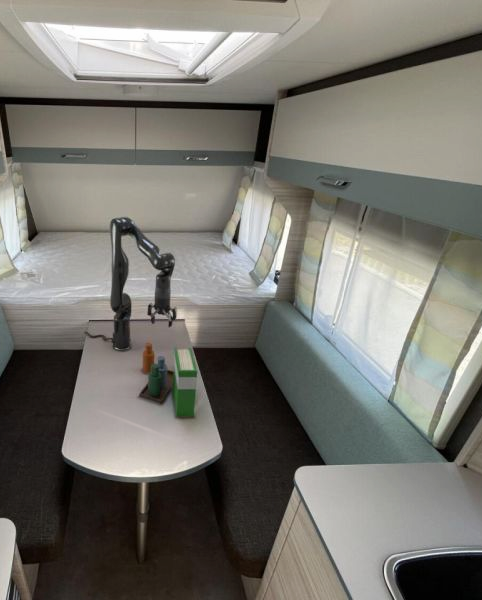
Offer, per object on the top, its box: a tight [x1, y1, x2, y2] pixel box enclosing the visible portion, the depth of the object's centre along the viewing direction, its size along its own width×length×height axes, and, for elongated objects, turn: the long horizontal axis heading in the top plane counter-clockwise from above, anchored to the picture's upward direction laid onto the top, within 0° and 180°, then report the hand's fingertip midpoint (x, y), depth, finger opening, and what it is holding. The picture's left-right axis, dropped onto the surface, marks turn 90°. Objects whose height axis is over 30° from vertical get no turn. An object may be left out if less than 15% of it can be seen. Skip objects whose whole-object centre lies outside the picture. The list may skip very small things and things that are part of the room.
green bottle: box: [147, 363, 161, 398], centre depth 150 cm, size 6×6×16 cm
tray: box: [138, 369, 174, 405], centre depth 158 cm, size 11×23×2 cm, turn 153°
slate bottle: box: [157, 355, 168, 390], centre depth 155 cm, size 6×6×16 cm
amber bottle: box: [142, 342, 156, 374], centre depth 167 cm, size 6×6×16 cm
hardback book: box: [172, 347, 198, 418], centre depth 143 cm, size 18×7×24 cm, turn 1°
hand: (161, 325), depth 161 cm, fingers open, 8 cm apart
